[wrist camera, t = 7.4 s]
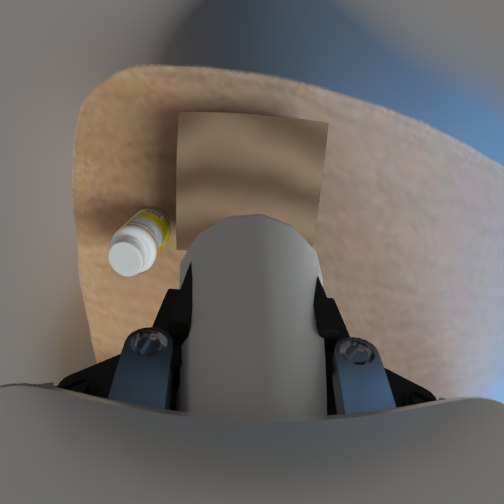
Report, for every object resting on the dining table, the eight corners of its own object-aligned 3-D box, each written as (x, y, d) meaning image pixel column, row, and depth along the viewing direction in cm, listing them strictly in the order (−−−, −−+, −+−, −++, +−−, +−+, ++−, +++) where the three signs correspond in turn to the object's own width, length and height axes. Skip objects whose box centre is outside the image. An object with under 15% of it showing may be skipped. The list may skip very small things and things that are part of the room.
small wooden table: (301, 238, 39) (310, 258, 33) (186, 231, 38) (176, 249, 33) (315, 123, 33) (328, 123, 27) (189, 113, 32) (178, 111, 26)
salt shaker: (295, 314, 16) (342, 573, 4) (187, 302, 15) (125, 566, 3) (322, 209, 13) (504, 513, 1) (195, 191, 13) (11, 530, 1)
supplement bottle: (141, 249, 39) (114, 287, 30) (127, 212, 37) (93, 242, 28) (178, 240, 39) (157, 277, 29) (164, 200, 36) (137, 228, 27)
